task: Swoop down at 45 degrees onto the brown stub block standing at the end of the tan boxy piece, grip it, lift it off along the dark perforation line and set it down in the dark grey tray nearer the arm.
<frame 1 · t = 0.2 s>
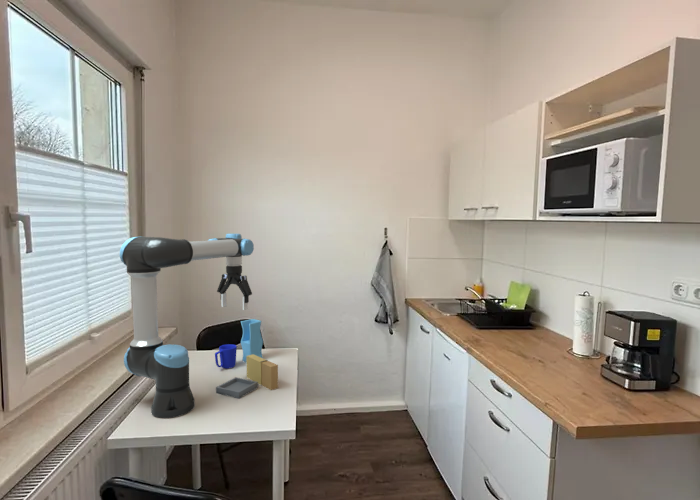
hand: (234, 308, 204), 28 cm above the table, tool pointing down, fingers open, 13 cm apart
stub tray: (237, 390, 174), on the table
tan boxy piece: (257, 380, 185), on the table
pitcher: (252, 360, 212), on the table
mug: (225, 368, 200), on the table
stub: (270, 386, 178), on the table
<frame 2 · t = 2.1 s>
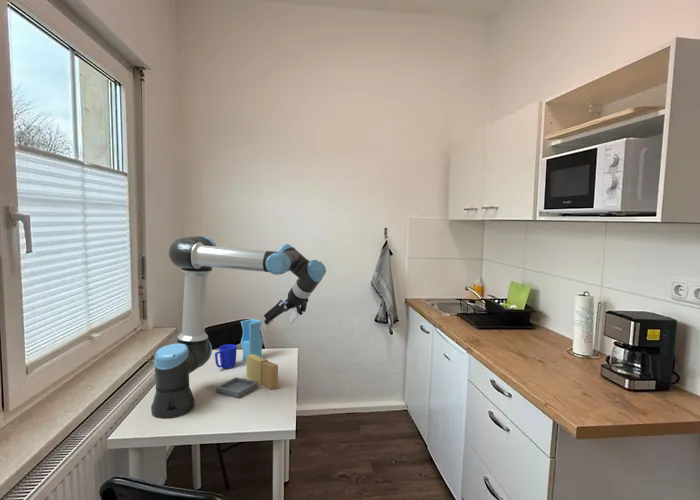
hand: (277, 324, 174), 28 cm above the table, tool tilted 45°, fingers open, 13 cm apart
nothing on the table moved.
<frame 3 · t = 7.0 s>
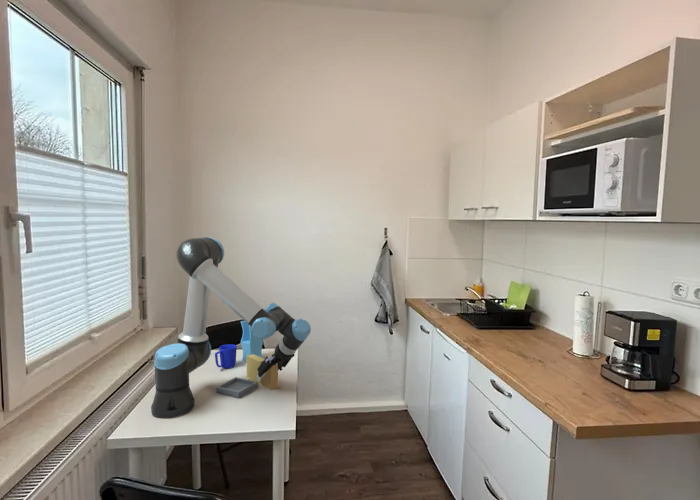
hand: (264, 376, 180), 3 cm above the table, tool tilted 45°, fingers open, 6 cm apart
nothing on the table moved.
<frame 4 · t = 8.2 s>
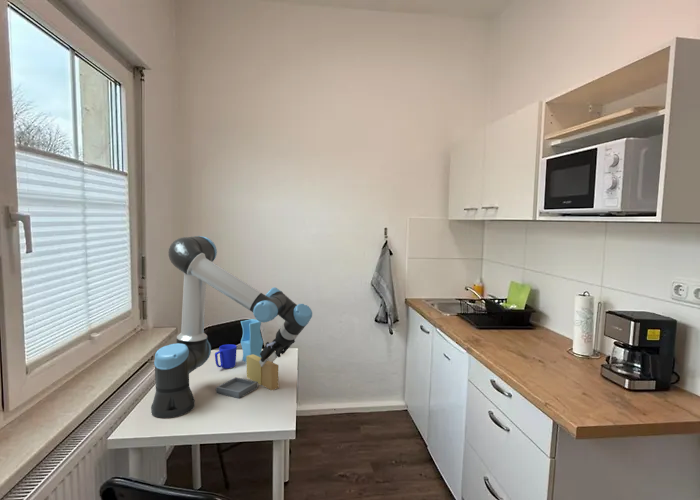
hand: (265, 362, 180), 10 cm above the table, tool tilted 45°, fingers closed on stub, tan boxy piece, 3 cm apart
stub: (270, 386, 177), on the table, touching gripper
everything else where it was.
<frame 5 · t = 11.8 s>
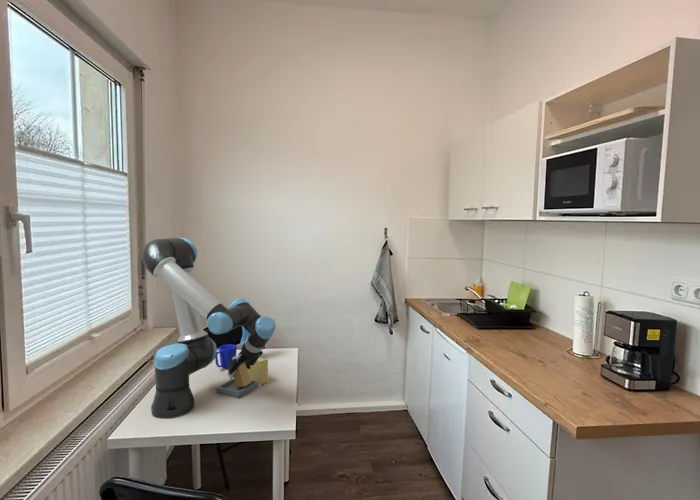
hand: (234, 374, 177), 5 cm above the table, tool tilted 45°, fingers closed on stub, 4 cm apart
stub: (244, 385, 173), point 2 cm above the table, tilted 23°, touching gripper, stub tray
everything else where it was.
when the fingers open (5 cm above the table, at t = 12.1 s): stub stays where it is, resting on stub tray.
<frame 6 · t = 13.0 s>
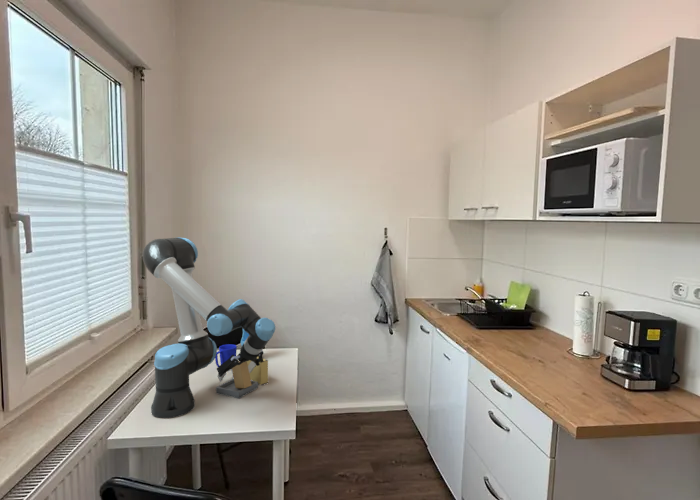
hand: (234, 374, 175), 6 cm above the table, tool tilted 45°, fingers open, 13 cm apart
stub: (243, 386, 173), point 2 cm above the table, tilted 15°, touching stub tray
everything else where it was.
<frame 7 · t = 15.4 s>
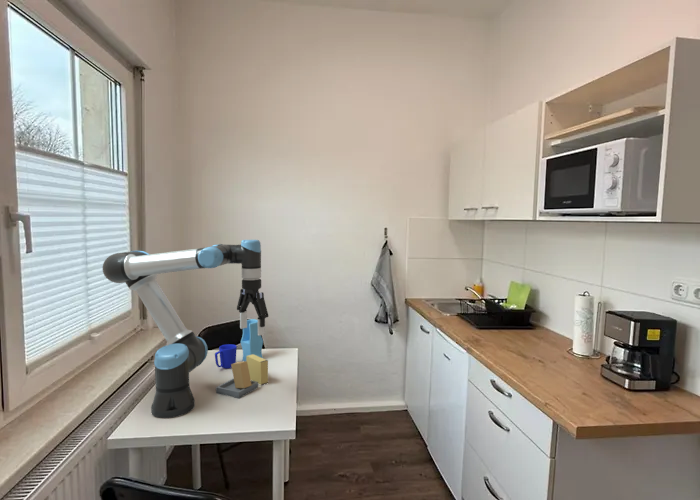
hand: (252, 331, 166), 27 cm above the table, tool pointing down, fingers open, 13 cm apart
nothing on the table moved.
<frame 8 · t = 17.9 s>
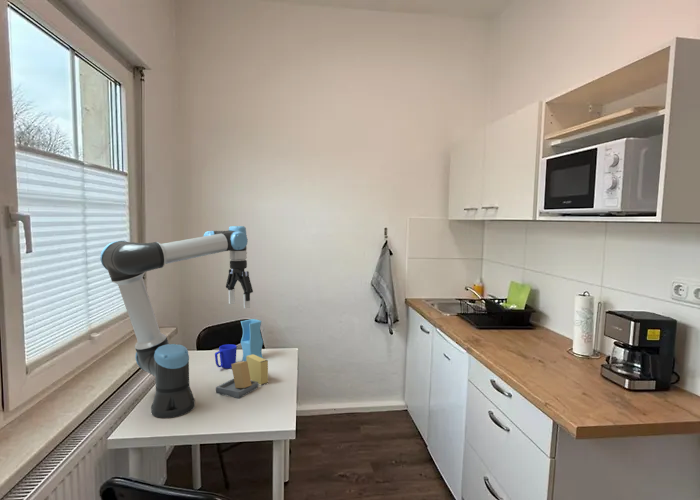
hand: (239, 305, 191), 32 cm above the table, tool pointing down, fingers open, 13 cm apart
nothing on the table moved.
at the end: stub inside the target area on the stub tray (3.0 cm from its centre), point 2.0 cm above the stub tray's base; stub moved 11.3 cm from its start; the gripper is holding nothing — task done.
